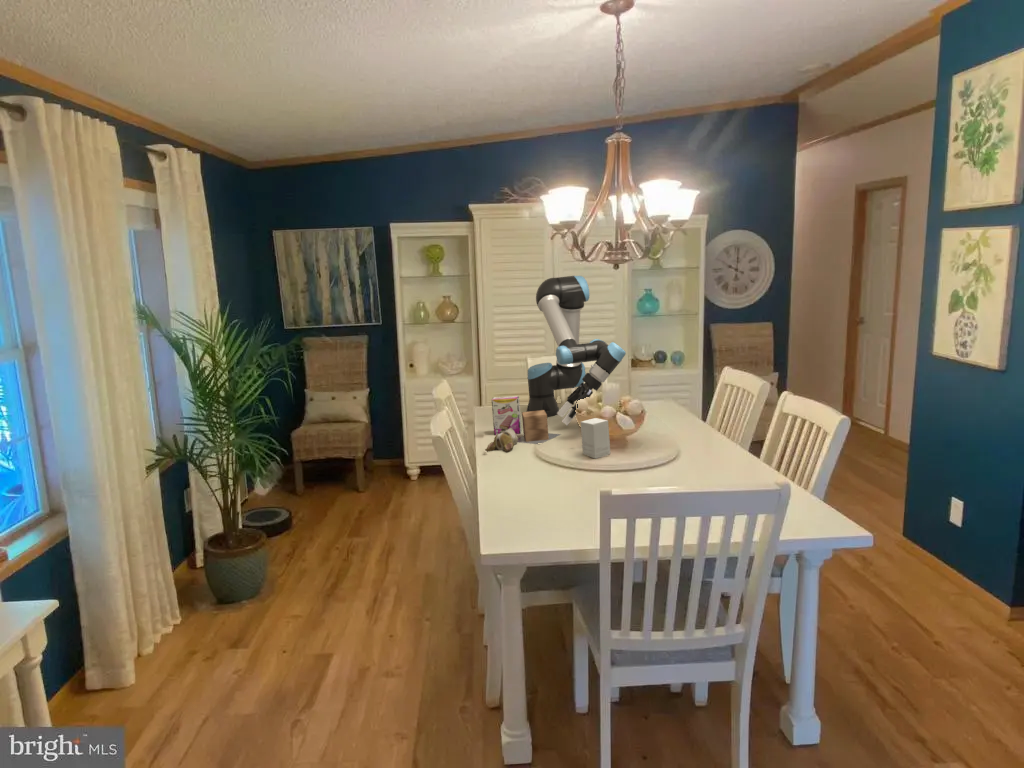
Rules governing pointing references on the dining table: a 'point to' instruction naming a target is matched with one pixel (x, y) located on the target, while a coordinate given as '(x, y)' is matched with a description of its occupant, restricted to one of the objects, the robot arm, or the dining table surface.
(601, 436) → the supplement box
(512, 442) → the ceramic sculpture
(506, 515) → the dining table surface
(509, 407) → the candy bar box
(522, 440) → the board
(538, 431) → the wooden block
